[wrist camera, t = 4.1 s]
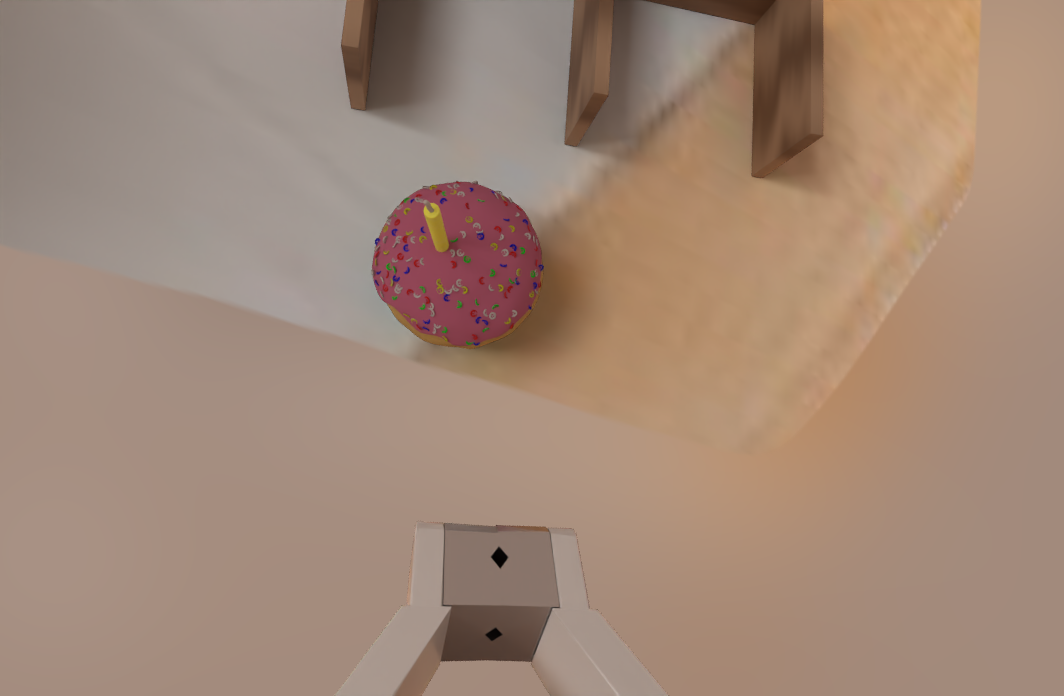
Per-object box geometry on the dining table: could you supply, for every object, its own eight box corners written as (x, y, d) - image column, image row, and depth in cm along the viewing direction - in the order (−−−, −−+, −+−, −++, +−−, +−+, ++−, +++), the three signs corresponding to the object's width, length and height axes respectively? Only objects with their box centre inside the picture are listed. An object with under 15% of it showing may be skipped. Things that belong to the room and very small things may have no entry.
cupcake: (366, 345, 34) (347, 300, 22) (389, 200, 35) (384, 87, 24) (517, 367, 36) (573, 336, 24) (534, 227, 37) (596, 134, 25)
